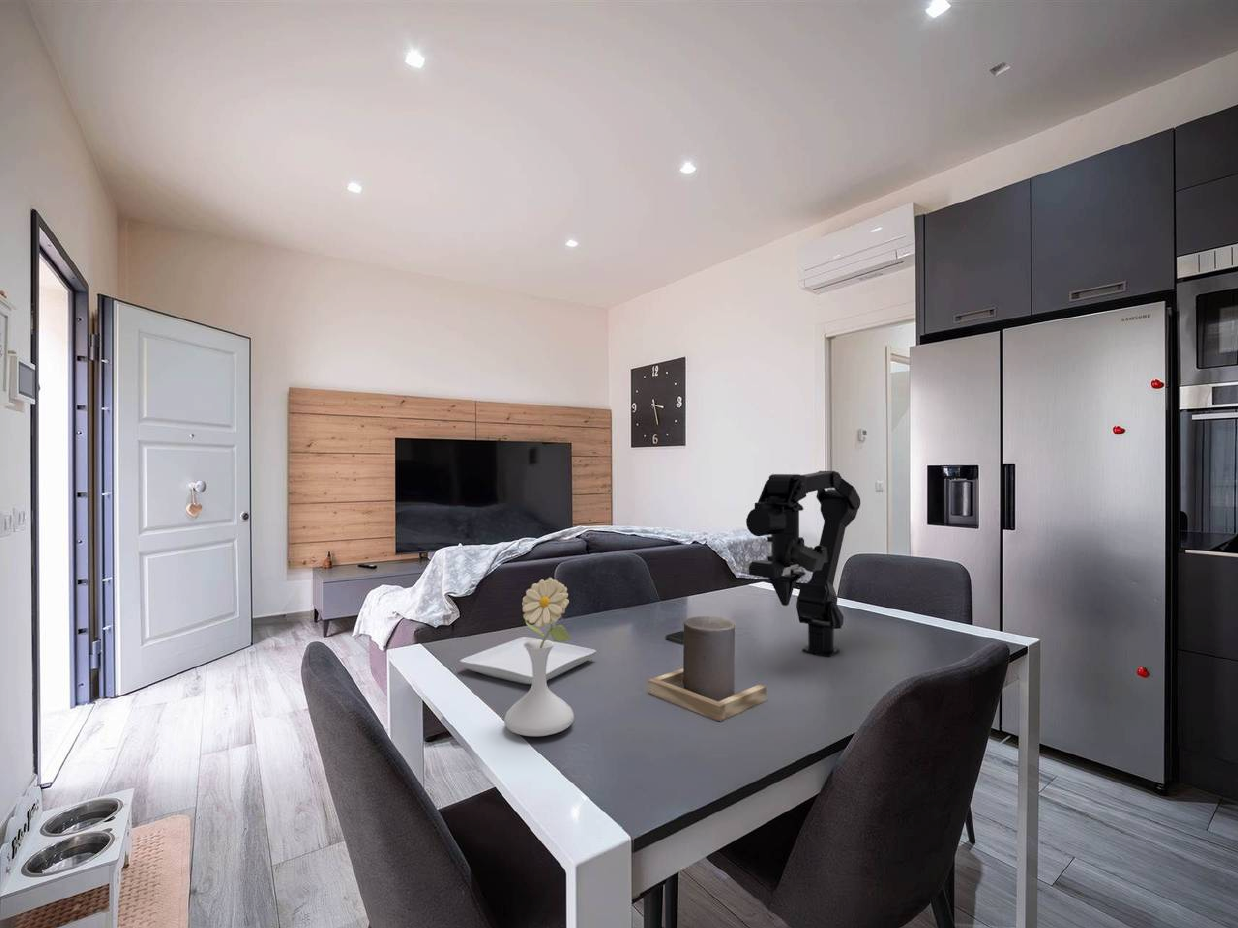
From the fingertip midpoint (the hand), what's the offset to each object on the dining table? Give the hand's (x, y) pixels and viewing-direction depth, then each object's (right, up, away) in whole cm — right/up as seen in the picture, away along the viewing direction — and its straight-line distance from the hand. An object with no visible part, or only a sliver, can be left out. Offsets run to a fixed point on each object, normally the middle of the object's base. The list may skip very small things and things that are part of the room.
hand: (785, 605), depth 128 cm
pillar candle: (-19, -13, -16) cm, 28 cm away
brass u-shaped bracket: (-19, -13, -16) cm, 28 cm away
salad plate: (-55, -14, -1) cm, 56 cm away
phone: (-17, -14, +18) cm, 28 cm away
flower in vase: (-48, -13, -30) cm, 58 cm away
